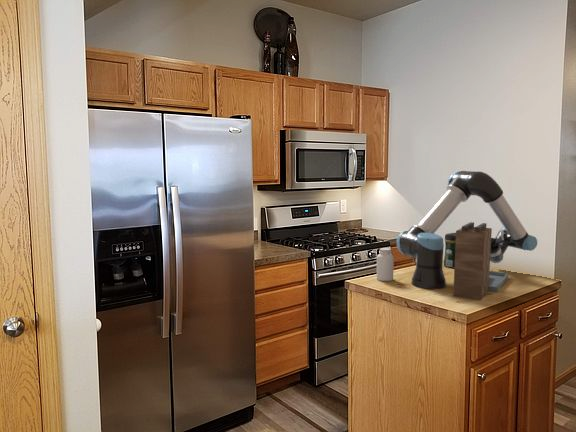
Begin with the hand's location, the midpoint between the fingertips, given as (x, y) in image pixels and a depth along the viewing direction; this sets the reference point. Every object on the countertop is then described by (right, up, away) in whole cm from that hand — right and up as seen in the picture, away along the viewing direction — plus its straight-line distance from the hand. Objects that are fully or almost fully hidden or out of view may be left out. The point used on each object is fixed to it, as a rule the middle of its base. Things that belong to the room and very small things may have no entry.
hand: (485, 230), depth 216 cm
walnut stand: (-15, -26, -19) cm, 36 cm away
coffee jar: (-4, -21, +33) cm, 39 cm away
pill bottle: (-47, -24, +5) cm, 53 cm away
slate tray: (-1, -24, +1) cm, 24 cm away
